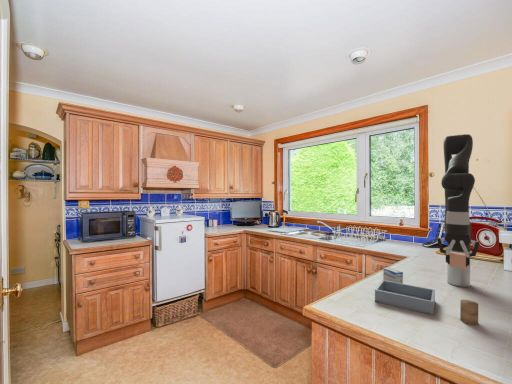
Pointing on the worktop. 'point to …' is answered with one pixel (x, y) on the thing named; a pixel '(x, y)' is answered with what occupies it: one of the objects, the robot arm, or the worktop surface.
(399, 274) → the medicine box
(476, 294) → the worktop surface
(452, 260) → the terracotta cube
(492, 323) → the worktop surface
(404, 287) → the tote
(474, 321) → the walnut cylinder
